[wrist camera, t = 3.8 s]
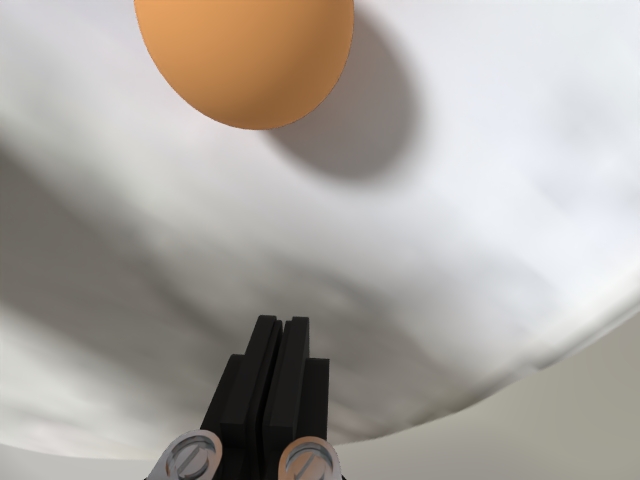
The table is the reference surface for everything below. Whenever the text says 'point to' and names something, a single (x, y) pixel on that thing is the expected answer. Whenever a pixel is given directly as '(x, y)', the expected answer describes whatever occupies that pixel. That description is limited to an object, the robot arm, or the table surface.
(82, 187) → the table surface
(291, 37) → the ball
